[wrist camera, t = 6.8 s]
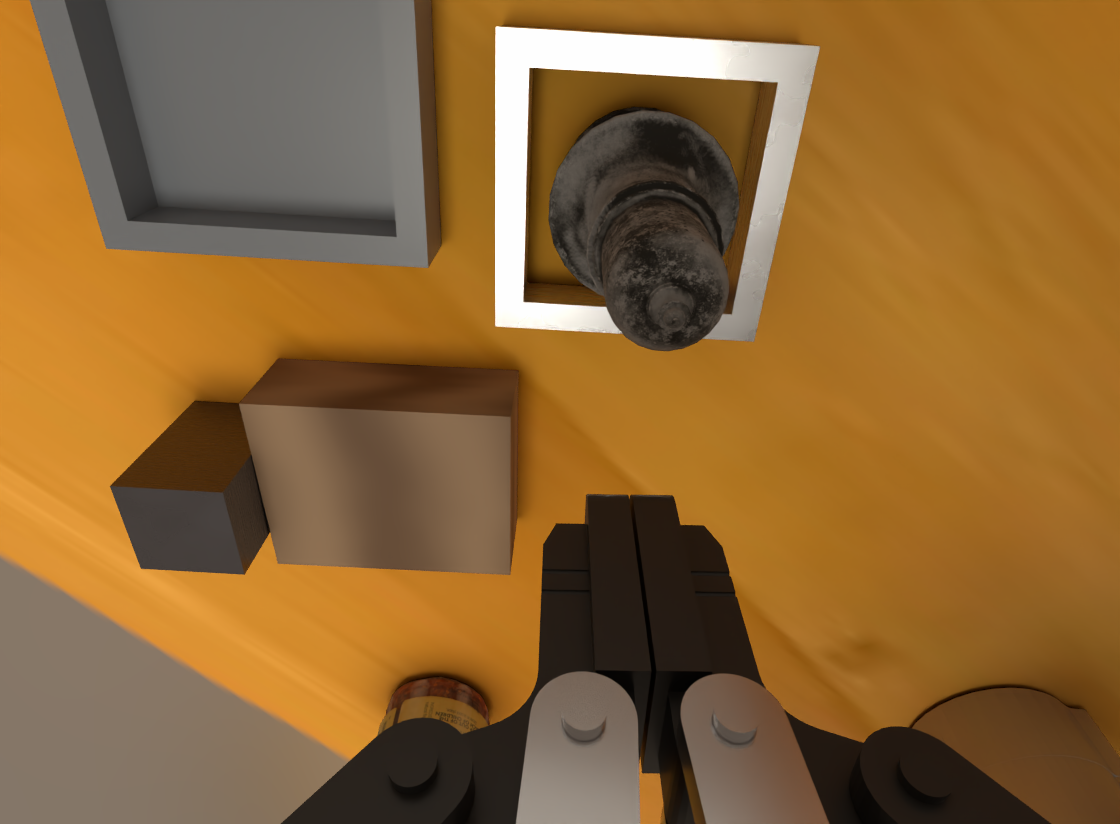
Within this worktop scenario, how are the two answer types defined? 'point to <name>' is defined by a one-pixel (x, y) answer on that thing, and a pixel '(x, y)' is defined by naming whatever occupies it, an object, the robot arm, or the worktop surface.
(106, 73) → the tray
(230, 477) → the block
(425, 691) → the sauce bottle
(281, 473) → the brown rectangular block
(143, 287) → the worktop surface
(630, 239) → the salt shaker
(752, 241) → the holder
